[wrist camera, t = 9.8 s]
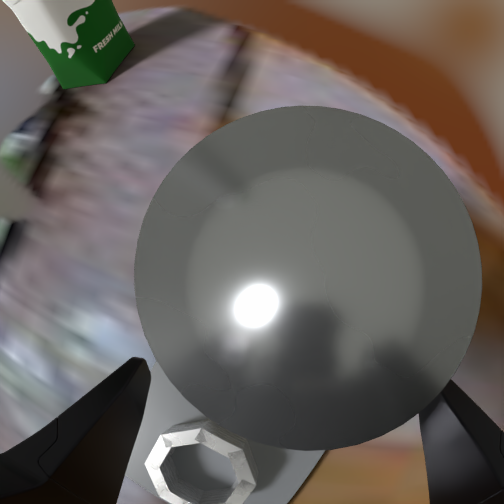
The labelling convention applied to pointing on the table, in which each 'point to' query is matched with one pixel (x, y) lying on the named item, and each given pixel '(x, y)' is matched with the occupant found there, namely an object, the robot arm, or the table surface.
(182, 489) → the narrow aluminium socket
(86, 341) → the table surface
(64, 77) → the milk carton
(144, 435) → the fitting board
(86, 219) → the table surface
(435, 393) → the disc
